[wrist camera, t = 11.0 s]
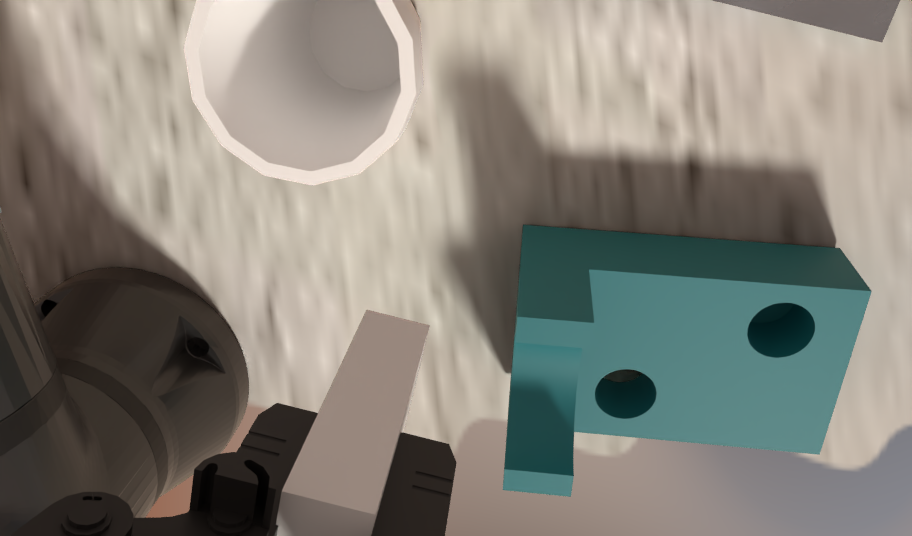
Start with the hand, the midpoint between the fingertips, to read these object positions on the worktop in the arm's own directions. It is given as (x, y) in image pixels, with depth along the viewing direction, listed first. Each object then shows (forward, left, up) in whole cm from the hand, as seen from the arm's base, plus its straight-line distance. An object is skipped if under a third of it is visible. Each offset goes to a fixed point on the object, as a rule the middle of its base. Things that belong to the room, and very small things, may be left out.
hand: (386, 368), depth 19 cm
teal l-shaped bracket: (+14, -9, -29) cm, 33 cm away
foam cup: (-7, +3, -29) cm, 30 cm away
